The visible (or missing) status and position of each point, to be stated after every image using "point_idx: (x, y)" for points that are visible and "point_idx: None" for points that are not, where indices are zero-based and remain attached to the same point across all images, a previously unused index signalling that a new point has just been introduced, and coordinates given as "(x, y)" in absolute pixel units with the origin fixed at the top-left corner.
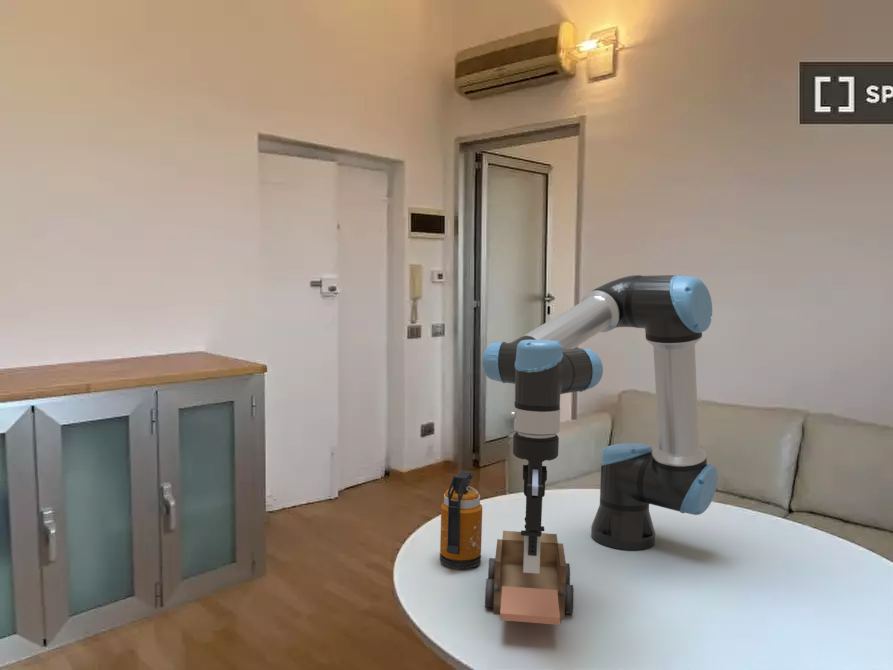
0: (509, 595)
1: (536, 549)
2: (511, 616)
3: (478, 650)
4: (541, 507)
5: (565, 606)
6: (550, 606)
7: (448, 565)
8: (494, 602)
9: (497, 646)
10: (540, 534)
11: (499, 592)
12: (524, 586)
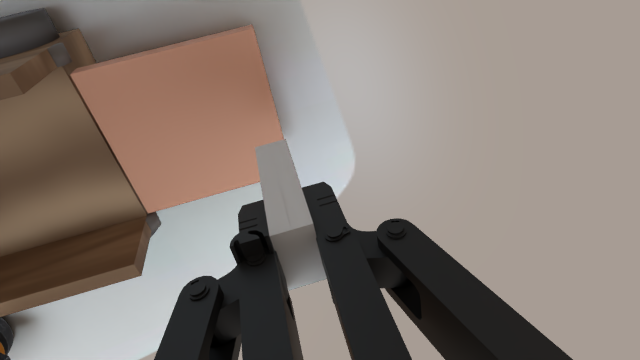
0: (191, 182)
1: (335, 197)
2: None
3: (316, 165)
4: (563, 353)
5: (57, 34)
6: (197, 69)
7: (12, 338)
8: None
9: (288, 139)
10: (415, 226)
11: None
12: (95, 167)
